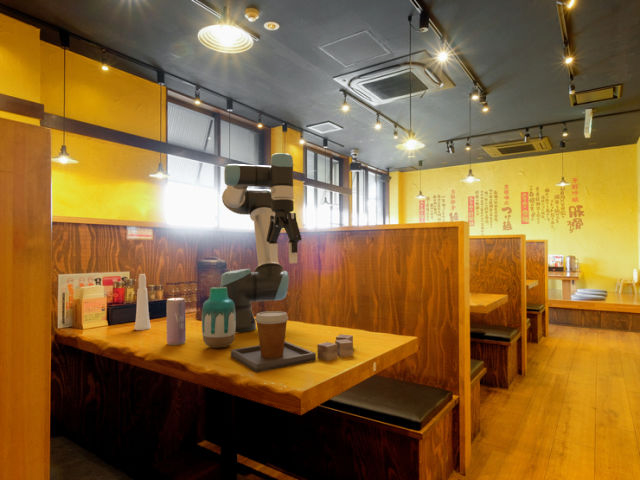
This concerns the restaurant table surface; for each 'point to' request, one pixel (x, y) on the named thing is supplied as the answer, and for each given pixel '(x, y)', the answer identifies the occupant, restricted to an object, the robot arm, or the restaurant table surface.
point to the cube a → (327, 351)
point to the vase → (218, 319)
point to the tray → (258, 363)
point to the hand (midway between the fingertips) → (283, 262)
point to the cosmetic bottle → (142, 306)
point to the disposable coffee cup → (271, 333)
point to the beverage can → (176, 321)
